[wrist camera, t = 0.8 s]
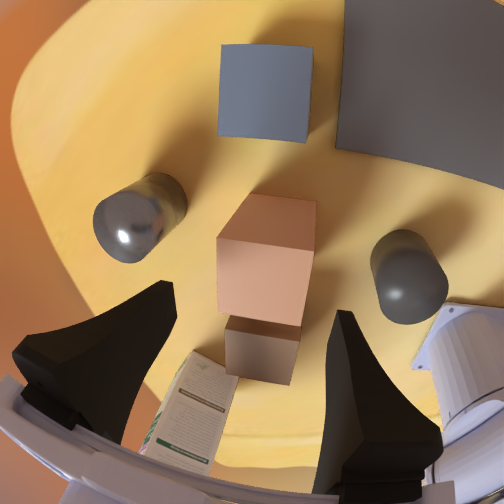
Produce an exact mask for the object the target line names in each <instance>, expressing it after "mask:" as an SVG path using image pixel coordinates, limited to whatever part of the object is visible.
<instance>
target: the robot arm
mask: <svg viewBox="0 0 504 504" xmlns="http://www.w3.org/2000/svg"><path fill="white" fill-rule="evenodd" d="M451 308H452V309H451ZM450 309H451V310H450ZM176 319H177V311H176V304H175V296H174V288H173V282H168V281H163V280H160V281H158V282H156V283H155V284H153V285H151V286H150V287H148V288H146V289H145V290H143V291H141V292H140V293H138V294H137V295H135V296H133V297H132V298H130V299H128V300H127V301H125V302H123V303H121V304H119V305H118V306H116V307H114V308H112V309H110V310H109V311H107V312H105V313H102V314H100V315H98V316H96V317H94V318H92V319H89V320H87V321H84V322H81V323H78V324H76V325H72V326H69V327H66V328H62V329H59V330H55V331H50V332H46V333H39V334H32V335H27V336H26V337H25V338H24V339H23V340H22V342H21V343H20V344H19V345H18V346H17V347H16V348H15V349H14V351H13V352H12V357H13V360H14V362H15V364H16V365H17V367H18V368H19V370H20V372H21V373H22V375H23V376H24V377H25V379H26V380H27V382H28V384H27V386H26V387H24V386H23V384H22V383H20V382H19V381H18V380H16V379H15V378H14V377H12V376H11V375H10V374H6V375H5V376H4V377H3V379H2V380H1V381H0V428H1V429H2V430H3V431H4V432H5V433H6V434H7V435H8V436H9V437H10V438H11V439H12V440H14V441H15V442H16V443H17V444H18V445H20V446H21V447H22V448H23V449H25V450H26V451H27V452H28V453H29V454H31V455H32V456H34V457H35V458H36V459H37V460H39V461H40V462H41V463H43V464H44V465H45V466H47V467H48V468H50V469H51V470H52V471H54V472H55V473H57V474H58V475H60V476H61V477H63V478H64V479H66V480H67V481H69V482H70V483H69V485H68V487H67V489H66V491H65V492H64V494H63V496H62V498H61V500H60V502H59V504H233V503H238V504H504V489H502V490H500V489H501V488H503V487H504V308H497V307H487V306H478V305H469V304H460V303H451V302H446V303H444V304H443V305H442V307H441V308H440V310H439V312H438V314H437V317H436V319H435V321H434V323H433V325H432V327H431V329H430V331H429V333H428V334H427V336H426V338H425V340H424V342H423V344H422V346H421V348H420V349H419V351H418V353H417V355H416V357H415V358H414V360H413V362H412V363H411V368H412V369H413V370H431V373H432V377H433V382H434V386H435V390H436V395H437V399H438V404H439V409H440V414H441V419H442V425H443V432H442V433H441V431H440V427H438V426H437V425H436V424H435V423H433V422H432V421H431V420H430V419H428V418H427V417H426V416H425V415H423V414H422V413H421V412H420V411H419V410H418V409H417V408H416V407H415V406H414V405H413V404H412V403H411V402H410V401H409V400H408V399H407V398H406V397H405V396H404V395H403V394H402V393H401V392H400V391H399V389H398V388H397V387H396V386H395V385H394V383H393V382H392V381H391V380H390V378H389V377H388V376H387V374H386V373H385V371H384V370H383V368H382V367H381V365H380V364H379V362H378V361H377V359H376V357H375V356H374V354H373V352H372V350H371V349H370V347H369V345H368V343H367V341H366V339H365V338H364V336H363V334H362V332H361V330H360V327H359V325H358V323H357V321H356V319H355V317H354V314H353V313H352V311H345V310H337V313H336V317H335V320H334V323H333V327H332V330H331V334H330V337H329V340H328V343H327V353H326V364H325V367H326V415H325V424H324V431H323V438H322V445H321V451H320V457H319V462H318V467H317V472H316V477H315V481H314V486H313V490H312V494H307V493H296V492H295V493H294V492H287V491H279V490H271V489H265V488H259V487H254V486H248V485H243V484H238V483H234V482H229V481H225V480H220V479H216V478H212V477H209V476H205V475H201V474H198V473H194V472H191V471H187V470H184V469H181V468H178V467H175V466H172V465H169V464H166V463H163V462H160V461H158V460H155V459H152V458H149V457H147V456H144V455H142V454H139V453H137V452H134V451H132V450H130V449H127V448H125V447H123V446H120V445H121V441H122V437H123V434H124V430H125V426H126V423H127V420H128V418H129V414H130V411H131V409H132V406H133V404H134V401H135V398H136V396H137V394H138V391H139V389H140V387H141V384H142V382H143V380H144V378H145V376H146V374H147V372H148V370H149V369H150V367H151V365H152V364H153V362H154V360H155V359H156V357H157V355H158V354H159V352H160V350H161V349H162V347H163V345H164V344H165V342H166V340H167V339H168V337H169V335H170V333H171V331H172V329H173V326H174V324H175V321H176ZM425 469H426V470H425ZM424 478H425V486H423V487H422V486H421V484H422V483H421V480H423V479H424ZM498 490H500V491H498ZM496 491H498V492H496ZM494 492H496V493H494ZM492 493H494V494H492ZM490 494H492V495H490ZM488 495H490V496H488ZM486 496H487V497H486ZM219 499H220V500H219ZM222 500H225V501H228V502H225V501H222ZM229 502H233V503H229Z"/></svg>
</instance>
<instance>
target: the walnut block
mask: <svg viewBox="0 0 504 504" xmlns="http://www.w3.org/2000/svg"><path fill="white" fill-rule="evenodd" d="M302 318H303V316H302ZM301 327H302V321H301V326H294V325H288V324H281V323H275V322H269V321H263V320H257V319H252V318H246V317H241V316H235V315H230V317H229V320H228V322H227V325H226V327H225V369H226V374H228V375H233V376H237V377H242V378H247V379H253V380H258V381H264V382H269V383H275V384H282V385H288V386H289V385H290V381H291V377H292V373H293V369H294V364H295V360H296V356H297V351H298V347H299V342H300V335H301Z"/></svg>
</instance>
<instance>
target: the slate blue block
mask: <svg viewBox="0 0 504 504" xmlns="http://www.w3.org/2000/svg"><path fill="white" fill-rule="evenodd" d="M313 64H314V56H313V47H303V46H290V45H269V44H229V45H222V46H221V65H220V87H219V114H218V136H227V137H244V138H258V139H270V140H281V141H291V142H299V143H306V141H307V138H308V131H309V119H310V107H311V94H312V80H313Z"/></svg>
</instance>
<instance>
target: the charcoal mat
mask: <svg viewBox="0 0 504 504" xmlns="http://www.w3.org/2000/svg"><path fill="white" fill-rule="evenodd" d="M335 148H336V149H342V150H348V151H354V152H360V153H365V154H371V155H376V156H381V157H386V158H391V159H396V160H401V161H405V162H410V163H414V164H418V165H422V166H426V167H430V168H434V169H438V170H442V171H446V172H449V173H453V174H456V175H460V176H463V177H467V178H470V179H473V180H477V181H480V182H483V183H486V184H489V185H492V186H495V187H498V188H501V189H504V6H502V5H500V4H498V3H497V2H495V1H493V0H345V19H344V47H343V66H342V81H341V94H340V106H339V117H338V127H337V137H336V146H335Z"/></svg>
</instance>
